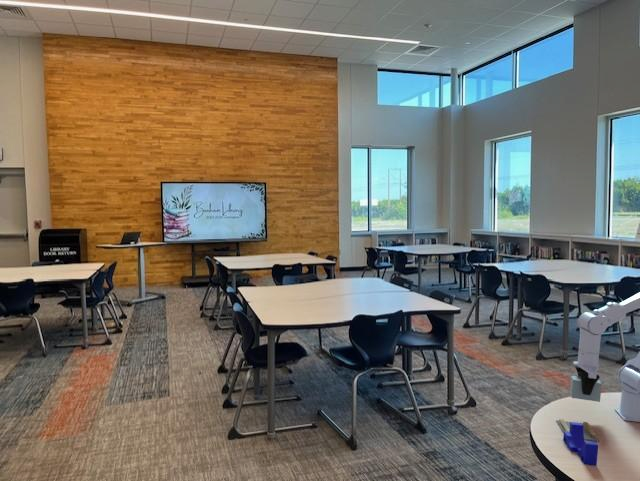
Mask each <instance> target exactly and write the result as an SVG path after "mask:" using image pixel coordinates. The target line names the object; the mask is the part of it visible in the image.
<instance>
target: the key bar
mask: <svg viewBox="0 0 640 481" xmlns="http://www.w3.org/2000/svg"><path fill="white" fill-rule="evenodd" d="M602 384H603V383H602V382H601V381H600V379H599V380H598V381H597V382H596V383H595V385H594V387H593V390H592V393H591V395H584V394H583V392H582V383H581V378H580V377H578V375H577V376H576V375H570V385H569V395H570V398H571V399H577V400H584V401H591V402H599V403H600V402H601V396H602V387H603V386H602Z"/></svg>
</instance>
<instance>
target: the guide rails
mask: <svg viewBox="0 0 640 481" xmlns="http://www.w3.org/2000/svg"><path fill="white" fill-rule="evenodd" d="M558 421H559V423H560V425H561V426H562V428H563V430H564V431H568V432H569V431H570V429H569V428H568V426H567V424H566V423H565V421H566V420H564V419H563V418H562V419H561V418H559V419H558ZM582 423H583V426H584V427H585V429H586V430H587V432H588V433H589V435H590V436H591V438H595V439H596V437H597V434H596V433H595V431H594V429H593V428H592V426H590V423H588V421H582ZM597 438H598V437H597Z"/></svg>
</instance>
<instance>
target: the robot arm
mask: <svg viewBox="0 0 640 481" xmlns="http://www.w3.org/2000/svg"><path fill="white" fill-rule="evenodd" d="M638 309H640V292H637V293H636V294H634V295H632V296H630V297H629V298H626V299H625V300H623V301H621V302H619V303H618V302H614V301H613V302H611V301H609V302H607V303H606V305H604V306H602V307H600V308H598V309H596V308H595V309H594V310H593V311H592V312H590V311H586V312H583V313H582V314H580V315H579V317H578V319H576V324H577V326H578V328H579V343H578V354H577V361H575V360H574V361H572V362H573V363H572V364H573V365H574V367H575V370H576V373H577V376H578V377H580V378H581V383H582V392H583V394H584V395H591V393H592V390H593V387H594V385H595V383H596V382H597V381H598V380H600V378H601V377H600V375H599V374H598V373H597V372H598V371H599V367H600V366H599V360H600V358H599V357H600V350H601V348H600V347H601V340H602V338H601V337H602V334H603V333H605V332H606V330H607V328H608V327H609V326H611V325H613V324H615V323H617V322H618V323H619V321H622V320H624V319H625V318H626V315H627V314H629V313H630V312H633V311H635V310H638ZM617 378H618V381H619V382H620V383H621V384H620V386H621V394H620V395H621V396H620V403H619V404H620V405H619V407H614V410H615V411H616V413H618V415H619V416H620V418H622V420H624V421H628V422H634V423H635V422H637V423H640V350H639V351H638V353H637V356H636V357H634V358H632V359H629V360H627V361H626V362H625V364H624V365H623V366H622V367H620V368H619V370H618V372H617Z"/></svg>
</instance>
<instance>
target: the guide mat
mask: <svg viewBox="0 0 640 481" xmlns="http://www.w3.org/2000/svg"><path fill="white" fill-rule="evenodd" d="M555 421H556V423H557V425H558V426H559V428H560V430H561V432H562V434H563V435H564V430H563V428H562V426H561V425H560V423H559V419H558V420H555ZM564 421H565V423H566V424H567V426H568V428H569V429H570V422H571V421H566V420H564ZM581 423H582V424H583V422H581ZM583 434H584V440H585V441H590V442H600V440H599V438H598V437H596V439H595V438H591V436H590V435H589V433H588V432H587V430H586V429H585V427H584V426H583Z"/></svg>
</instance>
